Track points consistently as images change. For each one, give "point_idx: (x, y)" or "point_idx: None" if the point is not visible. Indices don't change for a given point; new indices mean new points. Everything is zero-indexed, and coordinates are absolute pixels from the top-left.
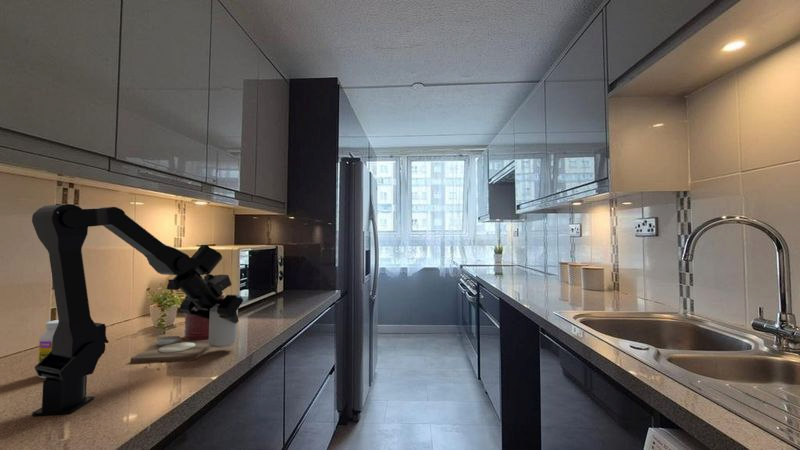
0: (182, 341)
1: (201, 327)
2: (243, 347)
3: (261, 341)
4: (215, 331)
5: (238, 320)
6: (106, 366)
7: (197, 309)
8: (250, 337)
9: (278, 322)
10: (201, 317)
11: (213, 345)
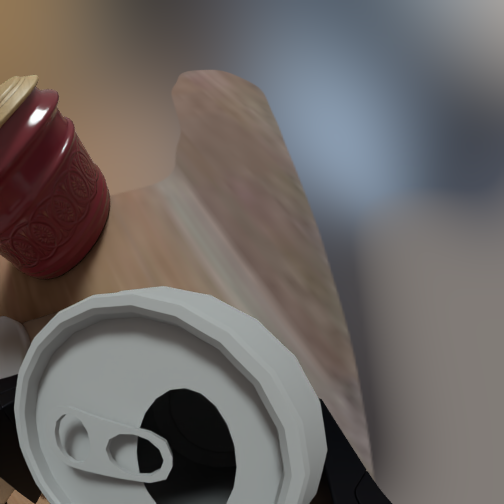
0: (31, 329)
1: (36, 253)
2: (277, 334)
3: (297, 242)
4: (209, 490)
5: (321, 401)
6: (21, 496)
7: (5, 491)
8: (215, 203)
9: (213, 81)
10: (10, 233)
11: (212, 464)
